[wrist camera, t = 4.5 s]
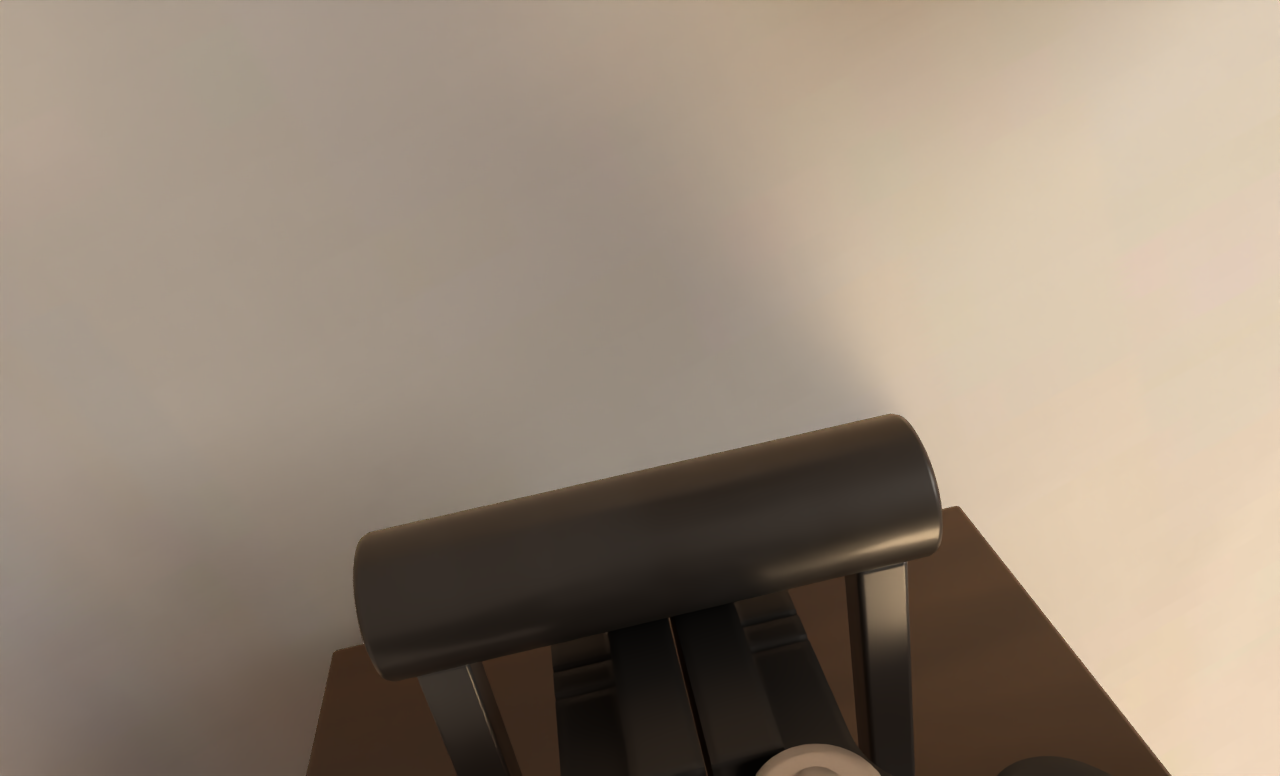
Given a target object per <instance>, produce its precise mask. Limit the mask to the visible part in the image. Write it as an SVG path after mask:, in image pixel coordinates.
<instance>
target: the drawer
mask: <svg viewBox="0 0 1280 776" xmlns="http://www.w3.org/2000/svg"><path fill="white" fill-rule="evenodd" d="M353 587H354V599H355V607H356V613H357V618H358V623H359V628H360V632H361V635H362V639H363V642H364V644H361V645H357V646H352V647H348V648H344V649H340V650H336V651H335V652H334V653H333V655H332V660H331V664H330V669H329V673H328V678H327V682H326V687H325V691H324V696H323V700H322V705H321V709H320V714H319V719H318V723H317V728H316V732H315V737H314V741H313V746H312V750H311V755H310V759H309V764H308V768H307V773H306V776H561V773H560V760H559V747H558V734H557V720H556V707H555V701H556V699H555V694H554V681H553V673H554V672H553V667H552V655H551V645H554V644H558V643H562V642H567V641H571V640H575V639H579V638H584V637H588V636H592V635H596V634H601V633H605V632H609V631H613V630H618V629H622V628H626V627H630V626H635V625H639V624H643V623H647V622H652V621H656V620H660V619H664V618H668V620H669V624H670V628H671V632H672V636H673V640H674V644H675V639H674V635H673V630H672V626H671V621H670V617H673V616H677V615H681V614H686V613H690V612H694V611H698V610H703V609H707V608H711V607H715V606H720V605H724V604H728V603H732V602H737V601H741V600H745V599H749V598H754V597H758V596H762V595H766V594H771V593H775V592H779V591H783V590H788V592H789V594H790V597H791V599H792V601H793V603H794V606H795V608H796V612H797V615H799V617H800V620H801V622H802V624H803V626H804V629H805V631H806V633H807V637H808V640H810V642H811V645H812V647H813V649H814V652H815V654H816V656H817V658H818V661H819V663H820V665H821V668H822V670H823V672H824V675H825V677H826V679H827V681H828V684H829V686H830V688H831V691H832V693H833V695H834V697H835V700H836V702H837V704H838V707H839V709H840V711H841V713H842V716H843V718H844V720H845V723H846V725H847V727H848V729H849V732H850V734H851V736H852V738H853V740H854V741H855V743H856V745H857V746H858V747H859V749H860V750H861V751H862V753H863V754H864V755H865V756H866V757H867V758H868V759H869V760H870V761H871V762H872V763H874V764H875V765H877V766H878V767H879V768H881V769H882V770H884V771H885V772H887V773H889V774H891V775H893V776H997V774H998V773H999V772H1001V771H1002V770H1003V769H1005V768H1006V767H1007V766H1009V765H1011V764H1013V763H1015V762H1017V761H1020V760H1023V759H1026V758H1031V757H1038V756H1057V757H1064V758H1070V759H1074V760H1077V761H1081V762H1084V763H1086V764H1089V765H1091V766H1094V767H1096V768H1098V769H1100V770H1102V771H1104V772H1106V773H1109V774H1111V775H1113V776H1171V775H1170V773H1169V772H1168V771H1167V769H1166V768H1165V767H1164V766H1163V764H1162V763H1161V762H1160V761H1159V759H1158V758H1157V757H1156V755H1155V754H1154V753H1153V752H1152V750H1151V749H1150V748H1149V747H1148V745H1147V744H1146V743H1145V742H1144V740H1143V739H1142V738H1141V736H1140V735H1139V734H1138V733H1137V731H1136V730H1135V729H1134V728H1133V726H1132V725H1131V724H1130V722H1129V721H1128V720H1127V719H1126V717H1125V716H1124V715H1123V714H1122V712H1121V711H1120V710H1119V709H1118V707H1117V706H1116V705H1115V703H1114V702H1113V701H1112V700H1111V698H1110V697H1109V696H1108V695H1107V693H1106V692H1105V691H1104V689H1103V688H1102V687H1101V686H1100V684H1099V683H1098V682H1097V681H1096V679H1095V678H1094V677H1093V676H1092V674H1091V673H1090V672H1089V670H1088V669H1087V668H1086V667H1085V665H1084V664H1083V663H1082V662H1081V660H1080V659H1079V658H1078V656H1077V655H1076V654H1075V653H1074V651H1073V650H1072V649H1071V648H1070V646H1069V645H1068V644H1067V642H1066V641H1065V640H1064V639H1063V637H1062V636H1061V635H1060V634H1059V632H1058V631H1057V630H1056V629H1055V627H1054V626H1053V625H1052V623H1051V622H1050V621H1049V620H1048V618H1047V617H1046V616H1045V615H1044V613H1043V612H1042V611H1041V609H1040V608H1039V607H1038V606H1037V604H1036V603H1035V602H1034V601H1033V599H1032V598H1031V597H1030V596H1029V594H1028V593H1027V592H1026V590H1025V589H1024V588H1023V587H1022V585H1021V584H1020V583H1019V582H1018V580H1017V579H1016V578H1015V576H1014V575H1013V574H1012V573H1011V571H1010V570H1009V569H1008V568H1007V566H1006V565H1005V564H1004V563H1003V561H1002V560H1001V559H1000V557H999V556H998V555H997V554H996V552H995V551H994V550H993V549H992V547H991V546H990V545H989V543H988V542H987V541H986V540H985V538H984V537H983V536H982V535H981V533H980V532H979V531H978V530H977V528H976V527H975V526H974V524H973V523H972V522H971V521H970V519H969V518H968V517H967V516H966V514H965V513H964V512H963V510H962V509H961V508H960V507H958V506H954V507H949V508H945V509H942V506H941V500H940V494H939V489H938V485H937V481H936V478H935V474H934V471H933V468H932V465H931V462H930V460H929V457H928V455H927V452H926V450H925V448H924V446H923V444H922V442H921V440H920V438H919V437H918V435H917V433H916V432H915V430H914V429H913V427H912V426H911V425H910V423H909V422H908V421H907V420H906V419H905V418H903V417H902V416H900V415H895V414H887V415H882V416H878V417H874V418H869V419H865V420H860V421H856V422H852V423H847V424H843V425H838V426H834V427H830V428H825V429H821V430H816V431H812V432H808V433H803V434H799V435H794V436H790V437H786V438H781V439H777V440H773V441H768V442H764V443H759V444H755V445H751V446H746V447H742V448H737V449H733V450H729V451H724V452H720V453H715V454H711V455H707V456H702V457H698V458H693V459H689V460H685V461H680V462H676V463H671V464H667V465H663V466H658V467H654V468H649V469H645V470H641V471H636V472H632V473H627V474H623V475H619V476H614V477H610V478H606V479H601V480H597V481H592V482H588V483H584V484H579V485H575V486H570V487H566V488H562V489H557V490H553V491H548V492H544V493H540V494H535V495H531V496H526V497H522V498H518V499H513V500H509V501H504V502H500V503H496V504H491V505H487V506H482V507H478V508H474V509H469V510H465V511H460V512H456V513H452V514H447V515H443V516H439V517H434V518H430V519H425V520H421V521H417V522H412V523H408V524H403V525H399V526H395V527H390V528H386V529H381V530H377V531H373V532H369V533H367V534H366V535H364V536H363V537H362V538H361V539H360V540H359V542H358V545H357V548H356V552H355V558H354V569H353ZM675 648H676V644H675ZM676 652H677V648H676ZM677 656H678V653H677ZM678 660H679V657H678ZM679 664H680V661H679ZM680 668H681V665H680ZM681 673H682V669H681ZM682 677H683V674H682ZM683 681H684V678H683ZM684 685H685V682H684ZM685 689H686V686H685ZM686 693H687V690H686ZM687 697H688V694H687ZM688 701H689V698H688ZM689 705H690V702H689ZM690 709H691V706H690ZM691 713H692V710H691ZM692 717H693V714H692ZM693 721H694V718H693ZM694 725H695V722H694ZM695 729H696V726H695ZM696 733H697V730H696ZM697 737H698V734H697ZM698 741H699V738H698ZM699 745H700V742H699ZM700 749H701V746H700ZM701 753H702V750H701ZM702 758H703V754H702ZM703 762H704V758H703ZM704 766H705V762H704ZM705 770H706V766H705ZM706 775H707V776H708V774H707V770H706Z"/></svg>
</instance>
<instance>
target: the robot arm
mask: <svg viewBox="0 0 1280 776" xmlns="http://www.w3.org/2000/svg"><path fill="white" fill-rule="evenodd" d="M670 621H671V626H672V630H673V635H674V639H675V644H676V648H677V652H676V648H675V644H674V640H673V636H672V632H671V628H670V624H669V620H668V618H664V619H660V620H656V621H652V622H647V623H643V624H639V625H635V626H630V627H626V628H622V629H618V630H613V631H609V632H605V633H601V634H596V635H592V636H588V637H584V638H579V639H575V640H571V641H567V642H562V643H558V644H554V645H551V655H552V667H553V672H554V673H553V681H554V694H555V699H556V701H555V707H556V720H557V734H558V747H559V760H560V773H561V776H707V775H706V770H707V774H708V776H893V775H891V774H889V773H887V772H885V771H884V770H882V769H881V768H879V767H878V766H877V765H875V764H874V763H872V762H871V761H870V760H869V759H868V758H867V757H866V756H865V755H864V754H863V753H862V751H861V750H860V749H859V747H858V746H857V745H856V743H855V741H854V740H853V738H852V736H851V734H850V732H849V729H848V727H847V725H846V723H845V720H844V718H843V716H842V713H841V711H840V709H839V707H838V704H837V702H836V700H835V697H834V695H833V693H832V691H831V688H830V686H829V684H828V681H827V679H826V677H825V675H824V672H823V670H822V668H821V665H820V663H819V661H818V658H817V656H816V654H815V652H814V649H813V647H812V645H811V642H810V640H808V637H807V633H806V631H805V629H804V626H803V624H802V622H801V620H800V617H799V615H797V612H796V608H795V606H794V603H793V601H792V599H791V597H790V594H789V592H788V590H783V591H779V592H775V593H771V594H766V595H762V596H758V597H754V598H749V599H745V600H741V601H737V602H732V603H728V604H724V605H720V606H715V607H711V608H707V609H703V610H698V611H694V612H690V613H686V614H681V615H677V616H673V617H670ZM677 653H678V656H677ZM678 657H679V660H678ZM679 661H680V664H679ZM680 665H681V668H680ZM681 669H682V673H681ZM682 674H683V677H682ZM683 678H684V681H683ZM684 682H685V685H684ZM685 686H686V689H685ZM686 690H687V693H686ZM687 694H688V697H687ZM688 698H689V701H688ZM689 702H690V705H689ZM690 706H691V709H690ZM691 710H692V713H691ZM692 714H693V717H692ZM693 718H694V721H693ZM694 722H695V725H694ZM695 726H696V729H695ZM696 730H697V733H696ZM697 734H698V737H697ZM698 738H699V741H698ZM699 742H700V745H699ZM700 746H701V749H700ZM701 750H702V753H701ZM702 754H703V758H704V762H705V766H706V770H705V766H704V762H703V758H702ZM997 776H1113V775H1111V774H1109V773H1106V772H1104V771H1102V770H1100V769H1098V768H1096V767H1094V766H1091V765H1089V764H1086V763H1084V762H1081V761H1077V760H1074V759H1070V758H1064V757H1057V756H1038V757H1031V758H1026V759H1023V760H1020V761H1017V762H1015V763H1013V764H1011V765H1009V766H1007V767H1006V768H1005V769H1003V770H1002V771H1001V772H999V773H998V774H997Z"/></svg>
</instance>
